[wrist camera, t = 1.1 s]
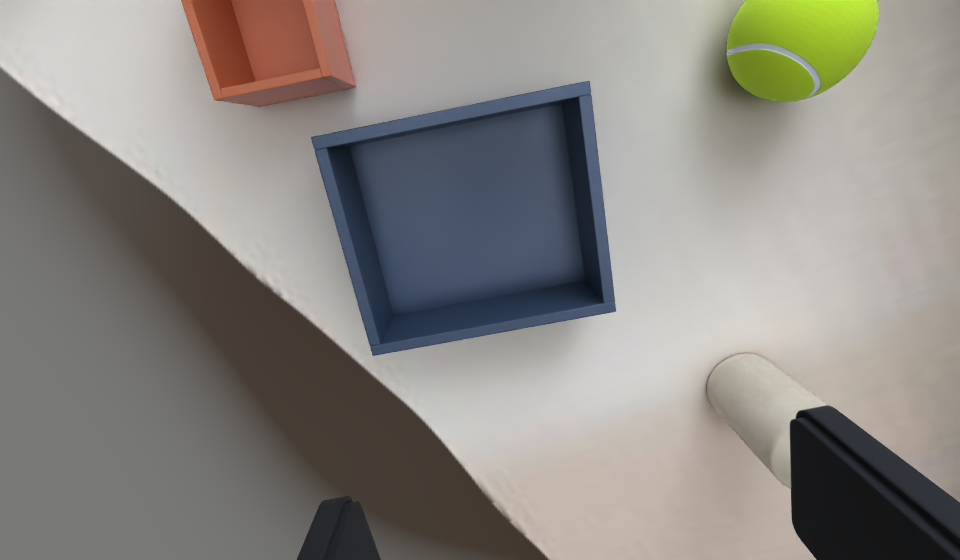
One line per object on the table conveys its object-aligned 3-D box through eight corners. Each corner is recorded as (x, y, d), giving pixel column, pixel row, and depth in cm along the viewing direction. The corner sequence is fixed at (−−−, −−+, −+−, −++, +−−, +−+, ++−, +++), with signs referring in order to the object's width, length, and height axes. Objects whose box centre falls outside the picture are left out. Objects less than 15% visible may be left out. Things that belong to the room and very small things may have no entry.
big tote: (338, 137, 31) (310, 137, 26) (569, 90, 30) (589, 80, 25) (388, 323, 35) (372, 356, 29) (593, 284, 34) (616, 311, 29)
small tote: (210, -51, 28) (148, -96, 23) (315, -75, 28) (278, -126, 22) (258, 107, 30) (214, 100, 25) (356, 87, 30) (331, 75, 25)
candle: (710, 422, 38) (791, 518, 28) (700, 362, 36) (782, 442, 27) (779, 405, 37) (885, 497, 28) (772, 344, 36) (881, 418, 26)
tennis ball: (755, -41, 28) (842, -97, 22) (839, 27, 30) (946, -6, 23) (683, 66, 30) (743, 44, 23) (764, 126, 31) (844, 122, 24)
